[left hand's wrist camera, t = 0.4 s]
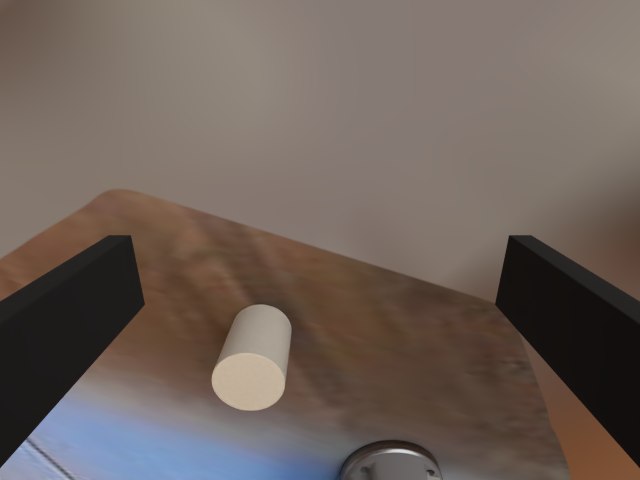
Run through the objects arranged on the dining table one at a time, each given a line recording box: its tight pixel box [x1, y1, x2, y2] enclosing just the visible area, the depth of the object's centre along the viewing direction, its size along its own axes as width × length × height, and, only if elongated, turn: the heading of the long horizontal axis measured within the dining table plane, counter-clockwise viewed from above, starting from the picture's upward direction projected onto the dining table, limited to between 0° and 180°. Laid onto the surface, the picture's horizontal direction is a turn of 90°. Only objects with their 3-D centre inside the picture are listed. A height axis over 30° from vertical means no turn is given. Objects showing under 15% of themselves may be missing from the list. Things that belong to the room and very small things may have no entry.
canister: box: [212, 304, 292, 411], centre depth 40 cm, size 8×8×9 cm
